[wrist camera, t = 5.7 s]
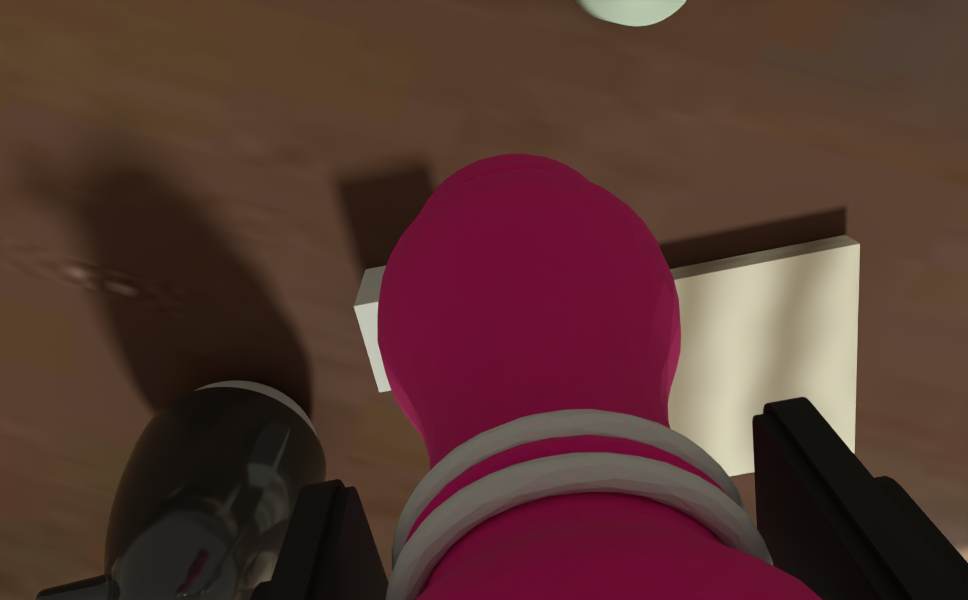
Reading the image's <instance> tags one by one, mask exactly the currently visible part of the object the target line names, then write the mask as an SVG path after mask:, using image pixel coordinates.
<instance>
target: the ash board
mask: <svg viewBox="0 0 968 600" xmlns="http://www.w3.org/2000/svg"><path fill="white" fill-rule="evenodd" d="M859 258H860V243H858V242H856V241H855V240H853V239H852V238H850V237H848V236H847V235H842V236H836V237H831V238H826V239H821V240H816V241H811V242H806V243H801V244H796V245H791V246H785V247H780V248H775V249H770V250H765V251H760V252H755V253H750V254H745V255H740V256H734V257H729V258H724V259H719V260H714V261H709V262H704V263H699V264H694V265H689V266H683V267H678V268H673V269H670V271H671V273H672V275H673V278H674V281H675V286H676V290H677V294H678V298H679V308H680V323H681V352H680V356H679V361H678V365H677V369H676V373H675V376H674V380H673V383H672V386H671V390H670V395H669V400H668V420H669V425H670V429H672V430H674V431H676V432H678V433H680V434H682V435H684V436H686V437H687V438H688V439H690V440H691V441H693V442H694V443H695V444H697V445H698V446H699V447H701V448H702V449H703V450H704V451H706V452H707V453H708V454H709V455H710V456H711V457H712V458H713V459H714V460H715V461H716V462H717V463H718V464H720V465H721V467H722V468H723V469H724V471H725V472H726V473H727V474H728V476H734V475H740V474H745V473H751V472H754V451H753V429H752V419H753V416H755V415H759V414H763V408H764V405H765V404H766V403H770V402H776V401H781V400H787V399H793V398H798V397H806V398H807V399H808V400H809V401H810V402H811V403H812V404H813V405H814V406H815V408H816V409H817V410H818V411H819V412H820V414H821V415H822V416H823V417H824V419H825V420H826V421H827V422H828V423H829V425H830V426H831V427H832V428H833V429H834V431H835V432H836V433H837V434H838V435H839V437H840V438H841V439H842V440H843V441H844V443H845V444H846V445H847V446H848V447H849V449H850V450H851V451H852V452H853V453H854V447H855V409H856V371H857V334H858V296H859Z"/></svg>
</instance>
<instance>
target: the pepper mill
mask: <svg viewBox="0 0 968 600" xmlns="http://www.w3.org/2000/svg"><path fill="white" fill-rule="evenodd" d="M377 342H378V346H379V350H380V354H381V357H382V361H383V365H384V369H385V373H386V376H387V379H388V382H389V385H390V388H391V390H392V392H393V394H394V396H395V398H396V400H397V402H398V404H399V406H400V408H401V409H402V410H403V412H404V413H405V415H406V416H407V417H408V419H409V420H410V421H411V423H412V424H413V425H414V426H415V428H416V429H417V430H418V431H419V433H420V434H421V436H422V438H423V439H424V442H425V445H426V448H427V451H428V455H429V458H430V469H431V471H430V472H429V473H428V474H427V475H426V476H425V477H424V478H423V479H422V480H421V482H420V483H419V485H418V486H417V488H416V489H415V490H414V492H413V493H412V495H411V496H410V498H409V500H408V502H407V504H406V506H405V508H404V509H403V511H402V513H401V516H400V519H399V522H398V525H397V528H396V532H395V536H394V541H393V546H392V571H393V573H392V575H391V578H390V581H389V584H388V589H387V595H386V600H822V599H821V598H820V597H819V596H818V595H817V594H816V593H814V592H813V591H812V590H811V589H810V588H809V587H808V586H806V585H805V584H804V583H803V582H802V581H801V580H799V579H797V578H796V577H794V576H792V575H790V574H788V573H786V572H784V571H782V570H780V569H778V568H776V567H775V566H773V561H772V558H771V556H770V554H769V551H768V549H767V546H766V544H765V541H764V539H763V538H762V536H761V534H760V533H759V531H758V530H757V528H756V526H755V525H754V523H753V521H752V520H751V518H750V517H749V516H748V515H747V514H746V510H745V507H744V505H743V503H742V500H741V498H740V495H739V493H738V490H737V488H736V487H735V485H734V483H733V482H732V480H731V479H730V477H729V476H728V474H727V473H726V472H725V471H724V469H723V468H722V467H721V465H720V464H718V463H717V462H716V461H715V460H714V459H713V458H712V457H711V456H710V455H709V454H708V453H707V452H706V451H704V450H703V449H702V448H701V447H699V446H698V445H697V444H695V443H694V442H693V441H691V440H690V439H688V438H687V437H686V436H684V435H682V434H680V433H678V432H676V431H674V430H672V429H670V425H669V420H668V400H669V395H670V390H671V386H672V383H673V380H674V376H675V373H676V369H677V365H678V361H679V356H680V352H681V323H680V308H679V298H678V294H677V290H676V286H675V281H674V278H673V275H672V273H671V271H670V269H669V267H668V265H667V262H666V260H665V258H664V256H663V254H662V251H661V249H660V247H659V245H658V243H657V241H656V239H655V238H654V236H653V235H652V233H651V232H650V230H649V229H648V227H647V226H646V224H645V223H644V221H643V220H642V219H641V218H640V217H639V216H638V215H637V214H636V213H635V212H634V211H633V210H632V209H631V208H630V207H629V206H628V205H627V204H625V203H624V202H623V201H621V200H620V199H618V198H617V197H616V196H614V195H613V194H611V193H610V192H609V191H607V190H606V189H604V188H602V187H600V186H598V185H596V184H594V183H592V182H589V181H588V180H587V179H586V178H584V177H583V176H582V175H581V174H580V173H578V172H577V171H575V170H573V169H572V168H570V167H569V166H567V165H565V164H563V163H560V162H558V161H556V160H553V159H549V158H546V157H541V156H534V155H527V154H505V155H499V156H495V157H491V158H487V159H483V160H479V161H476V162H474V163H472V164H470V165H468V166H466V167H464V168H462V169H460V170H458V171H457V172H456V173H454V174H453V175H452V176H450V177H449V178H448V179H446V180H445V181H444V182H443V183H442V184H441V185H440V186H439V187H438V188H437V189H436V190H435V191H434V192H433V194H432V195H431V196H430V197H429V199H428V200H427V202H426V203H425V205H424V207H423V209H422V210H421V212H420V214H419V215H418V216H417V217H416V218H415V220H414V221H413V222H412V223H411V224H410V226H409V227H408V228H407V229H406V230H405V232H404V233H403V234H402V235H401V237H400V239H399V241H398V242H397V244H396V246H395V248H394V249H393V251H392V253H391V255H390V257H389V260H388V263H387V265H386V268H385V271H384V274H383V277H382V283H381V289H380V295H379V302H378V315H377Z"/></svg>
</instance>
